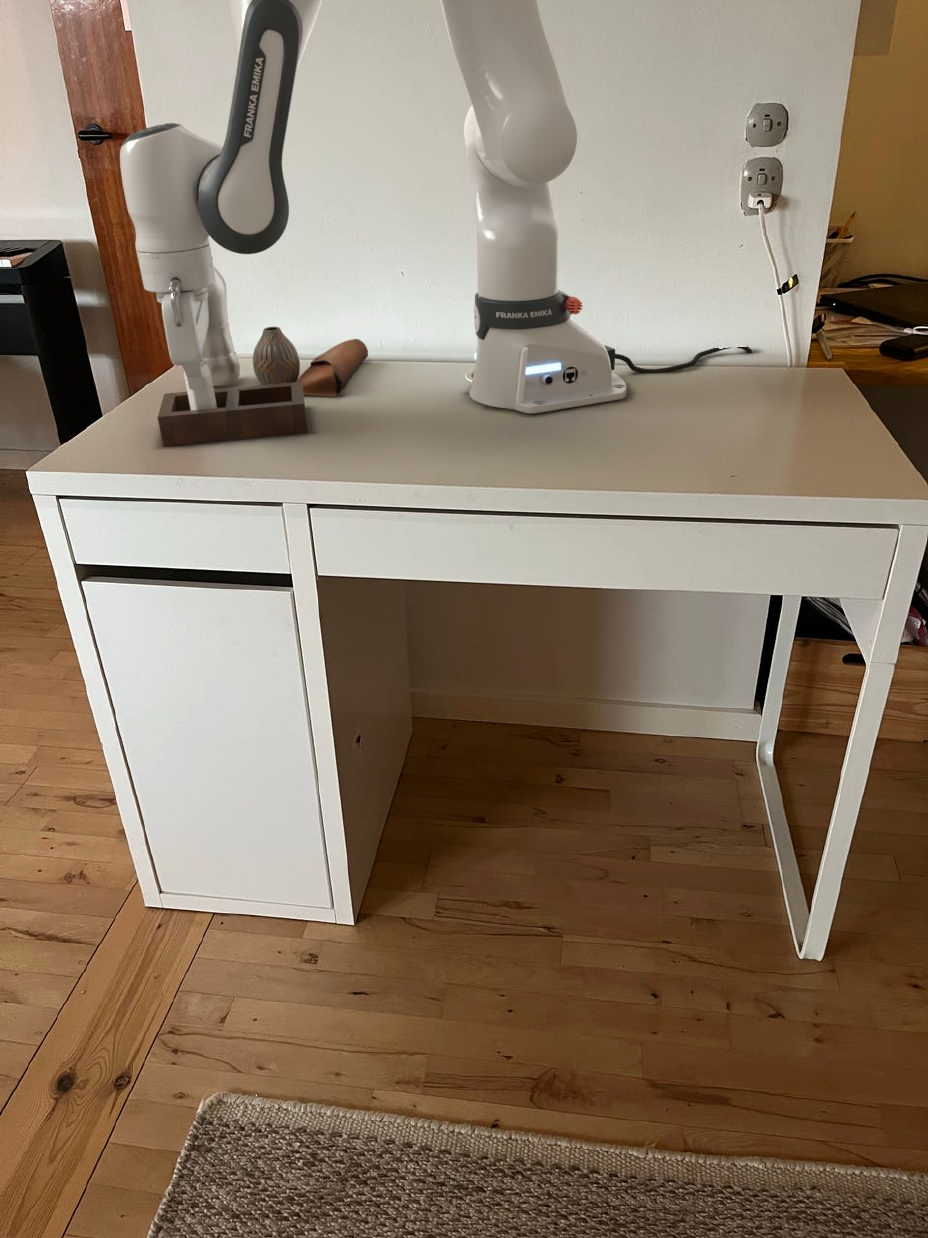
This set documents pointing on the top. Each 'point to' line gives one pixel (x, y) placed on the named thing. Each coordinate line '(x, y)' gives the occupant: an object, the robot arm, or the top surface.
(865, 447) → the top surface
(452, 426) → the top surface
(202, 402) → the eye dropper bottle
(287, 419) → the stand
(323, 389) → the sunglasses case
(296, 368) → the vase
